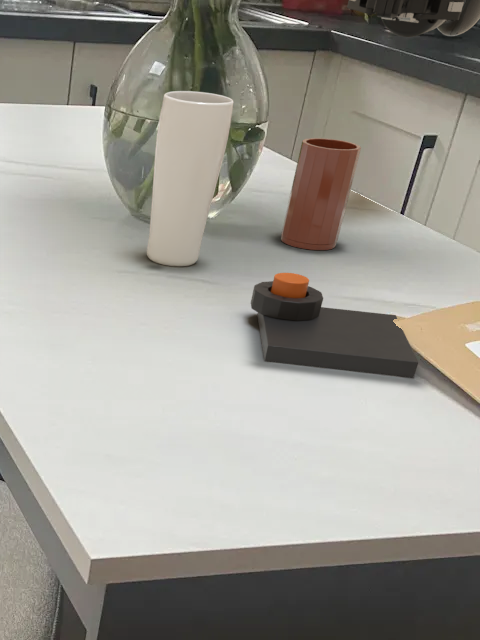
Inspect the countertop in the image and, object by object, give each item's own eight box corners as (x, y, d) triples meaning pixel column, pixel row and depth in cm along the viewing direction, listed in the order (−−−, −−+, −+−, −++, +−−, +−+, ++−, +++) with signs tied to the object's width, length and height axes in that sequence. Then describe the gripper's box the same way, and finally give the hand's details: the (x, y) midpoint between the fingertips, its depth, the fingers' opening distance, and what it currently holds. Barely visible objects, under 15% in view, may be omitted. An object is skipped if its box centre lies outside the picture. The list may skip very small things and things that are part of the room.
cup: (332, 238, 121) (357, 141, 115) (338, 252, 116) (364, 152, 110) (278, 232, 121) (300, 136, 115) (282, 246, 117) (305, 146, 111)
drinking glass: (135, 249, 113) (159, 88, 104) (199, 253, 113) (228, 93, 104) (142, 268, 107) (167, 100, 98) (209, 272, 107) (240, 105, 98)
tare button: (303, 292, 95) (307, 274, 94) (306, 302, 93) (310, 284, 92) (269, 288, 95) (273, 270, 94) (271, 299, 93) (275, 280, 92)
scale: (389, 327, 97) (399, 293, 95) (413, 379, 87) (425, 342, 85) (246, 311, 98) (253, 278, 96) (252, 360, 88) (260, 324, 86)
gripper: (373, -48, 125) (333, -43, 112) (491, -37, 120) (462, -32, 107) (356, 27, 129) (315, 39, 117) (469, 40, 124) (439, 54, 112)
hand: (386, 5), depth 112 cm, fingers closed
